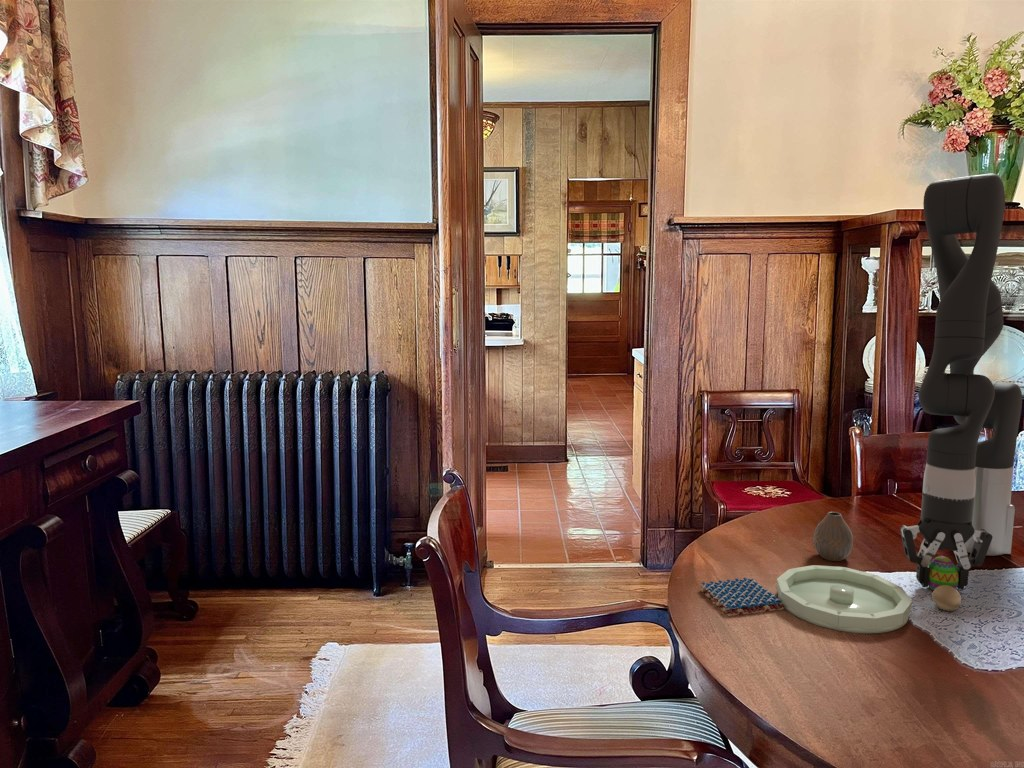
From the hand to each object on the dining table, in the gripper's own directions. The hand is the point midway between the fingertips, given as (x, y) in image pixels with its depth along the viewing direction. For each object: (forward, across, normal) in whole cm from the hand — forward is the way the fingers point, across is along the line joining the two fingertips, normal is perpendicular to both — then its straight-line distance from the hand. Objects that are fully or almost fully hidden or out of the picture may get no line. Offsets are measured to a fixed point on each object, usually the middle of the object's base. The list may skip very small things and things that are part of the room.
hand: (941, 586), depth 124 cm
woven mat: (+1, +34, +10) cm, 35 cm away
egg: (+1, 0, 0) cm, 1 cm away
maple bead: (+1, +2, +8) cm, 8 cm away
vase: (+1, +15, -12) cm, 19 cm away
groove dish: (+1, +18, +9) cm, 20 cm away
